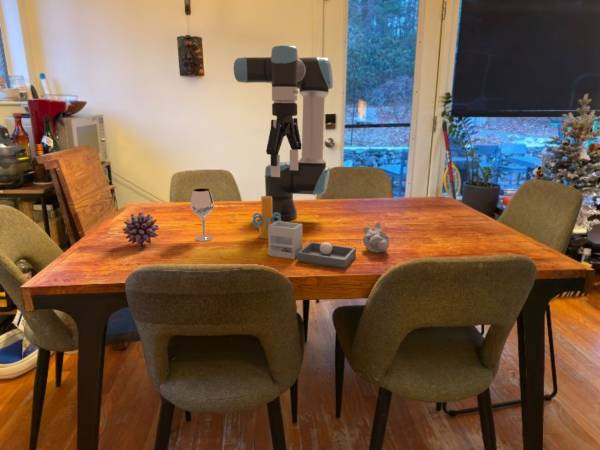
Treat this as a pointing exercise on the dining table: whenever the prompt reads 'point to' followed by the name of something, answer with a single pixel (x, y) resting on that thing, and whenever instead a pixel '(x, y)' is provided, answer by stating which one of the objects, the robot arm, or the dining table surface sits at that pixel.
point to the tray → (327, 256)
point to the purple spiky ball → (140, 228)
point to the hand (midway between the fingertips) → (285, 173)
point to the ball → (325, 248)
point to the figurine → (375, 239)
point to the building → (284, 239)
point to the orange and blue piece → (265, 217)
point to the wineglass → (202, 208)
